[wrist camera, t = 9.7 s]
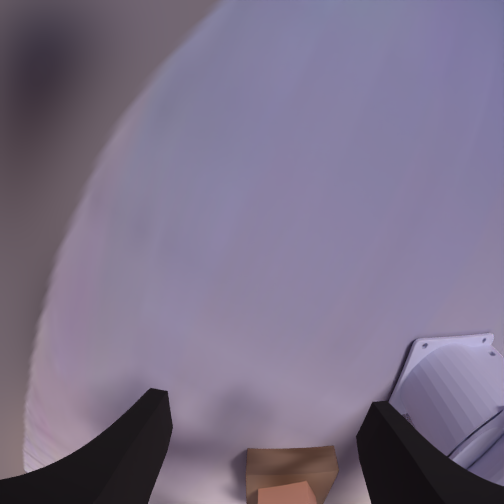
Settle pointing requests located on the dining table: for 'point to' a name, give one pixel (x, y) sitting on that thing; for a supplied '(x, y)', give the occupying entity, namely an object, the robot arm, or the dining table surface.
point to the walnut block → (291, 470)
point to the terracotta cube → (287, 494)
